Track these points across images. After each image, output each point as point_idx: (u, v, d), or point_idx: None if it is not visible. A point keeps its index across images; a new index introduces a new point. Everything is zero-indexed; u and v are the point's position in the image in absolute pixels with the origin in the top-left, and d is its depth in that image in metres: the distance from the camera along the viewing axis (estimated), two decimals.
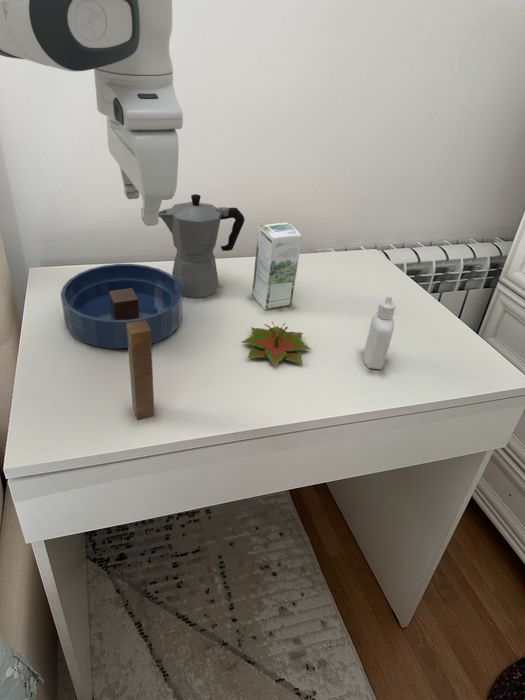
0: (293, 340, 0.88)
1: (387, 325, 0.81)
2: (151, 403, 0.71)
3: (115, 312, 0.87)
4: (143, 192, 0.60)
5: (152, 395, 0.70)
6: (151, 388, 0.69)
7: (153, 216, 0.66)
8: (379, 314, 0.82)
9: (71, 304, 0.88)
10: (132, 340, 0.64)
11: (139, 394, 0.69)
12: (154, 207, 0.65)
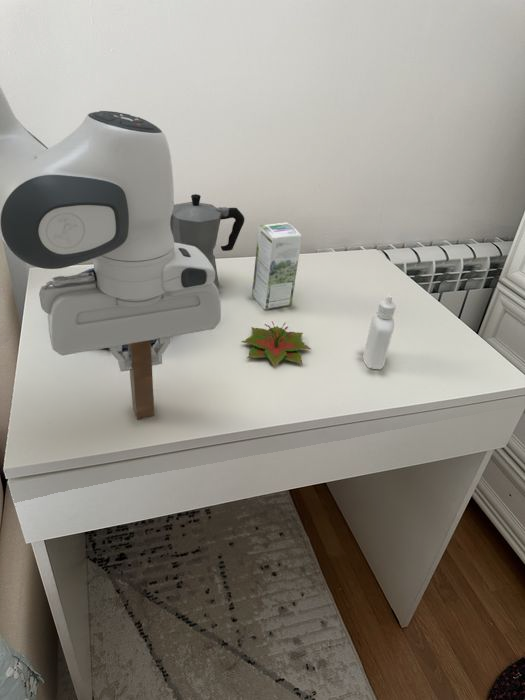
0: (293, 340, 0.88)
1: (387, 325, 0.81)
2: (151, 403, 0.71)
3: None
4: (217, 322, 0.67)
5: (152, 395, 0.70)
6: (151, 388, 0.69)
7: None
8: (379, 314, 0.82)
9: None
10: None
11: (139, 394, 0.69)
12: None
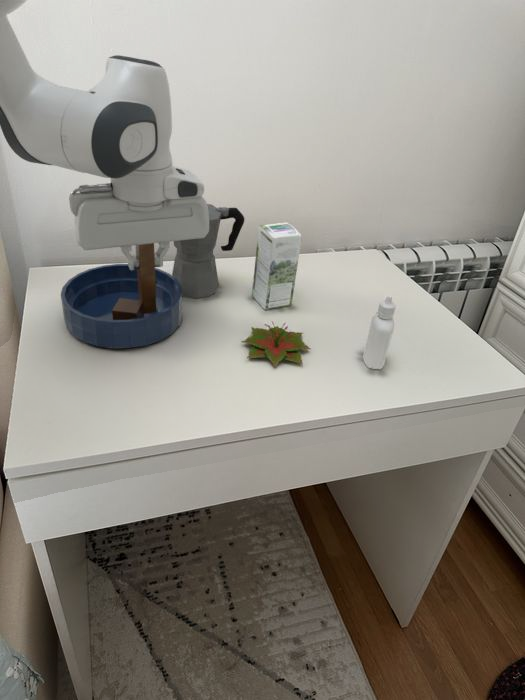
0: (293, 340, 0.88)
1: (387, 325, 0.81)
2: (154, 300, 0.89)
3: None
4: (206, 232, 0.85)
5: (154, 293, 0.88)
6: (154, 287, 0.87)
7: None
8: (379, 314, 0.82)
9: (71, 304, 0.88)
10: None
11: (144, 291, 0.87)
12: None
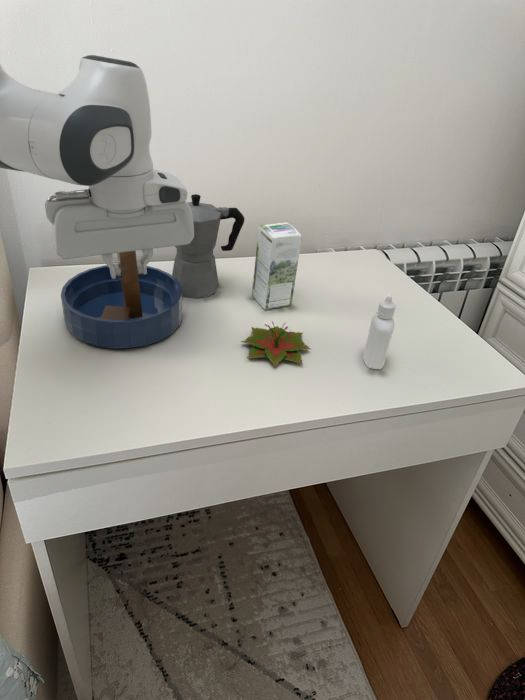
0: (293, 340, 0.88)
1: (387, 325, 0.81)
2: (139, 306, 0.86)
3: None
4: (191, 238, 0.81)
5: (139, 299, 0.85)
6: (138, 293, 0.84)
7: None
8: (379, 314, 0.82)
9: (71, 304, 0.88)
10: None
11: (128, 298, 0.84)
12: None
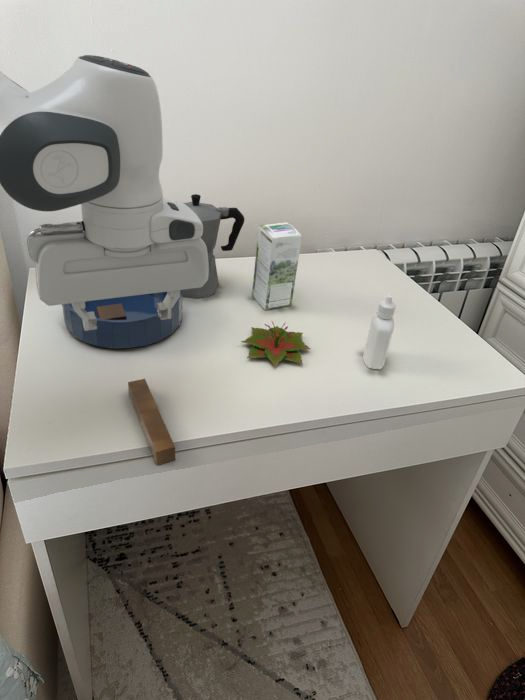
0: (293, 340, 0.88)
1: (387, 325, 0.81)
2: None
3: None
4: (205, 280, 0.67)
5: None
6: None
7: None
8: (379, 314, 0.82)
9: (71, 304, 0.88)
10: (155, 459, 0.66)
11: None
12: None
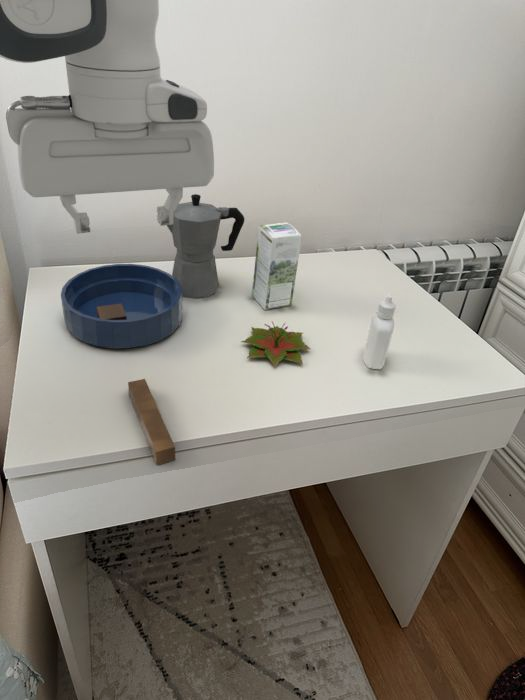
0: (293, 340, 0.88)
1: (387, 325, 0.81)
2: None
3: None
4: (210, 177, 0.60)
5: None
6: None
7: None
8: (379, 314, 0.82)
9: (71, 304, 0.88)
10: (155, 459, 0.66)
11: None
12: None
